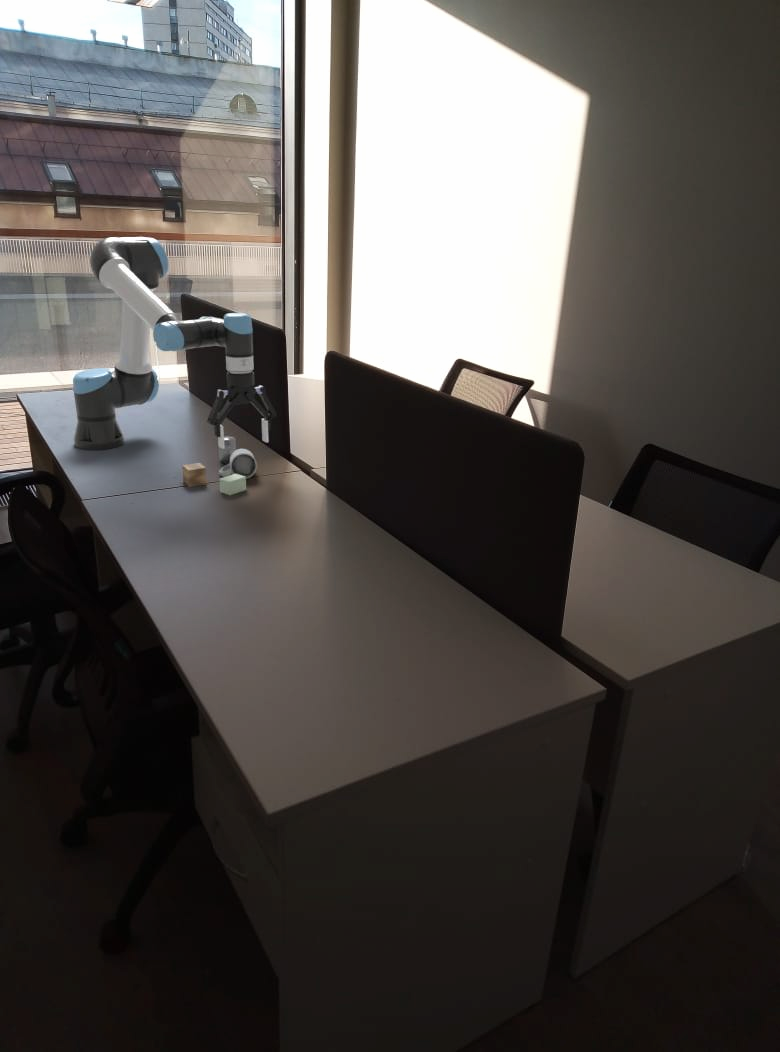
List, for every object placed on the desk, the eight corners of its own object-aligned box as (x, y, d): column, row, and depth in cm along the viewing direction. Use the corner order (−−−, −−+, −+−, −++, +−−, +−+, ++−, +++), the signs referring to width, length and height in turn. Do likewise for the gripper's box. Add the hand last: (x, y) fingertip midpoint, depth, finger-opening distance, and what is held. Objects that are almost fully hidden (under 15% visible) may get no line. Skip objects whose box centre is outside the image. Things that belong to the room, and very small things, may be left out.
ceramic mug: (254, 469, 231) (253, 444, 228) (257, 478, 223) (256, 453, 220) (218, 471, 228) (216, 447, 225) (220, 480, 221) (218, 455, 218)
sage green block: (230, 495, 210) (229, 481, 208) (220, 492, 212) (219, 478, 211) (246, 490, 214) (245, 476, 213) (236, 486, 217) (235, 473, 215)
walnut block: (189, 487, 215) (188, 470, 213) (183, 481, 219) (182, 465, 217) (206, 484, 217) (205, 467, 215) (200, 479, 221) (199, 462, 219)
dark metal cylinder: (223, 463, 234) (222, 441, 232) (217, 459, 238) (216, 437, 236) (238, 461, 237) (237, 439, 234) (232, 457, 241) (231, 435, 238)
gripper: (202, 377, 205) (207, 453, 213) (286, 369, 217) (288, 441, 225) (192, 372, 210) (197, 446, 218) (275, 365, 223) (277, 435, 231)
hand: (243, 444), depth 222 cm, fingers open, 13 cm apart
